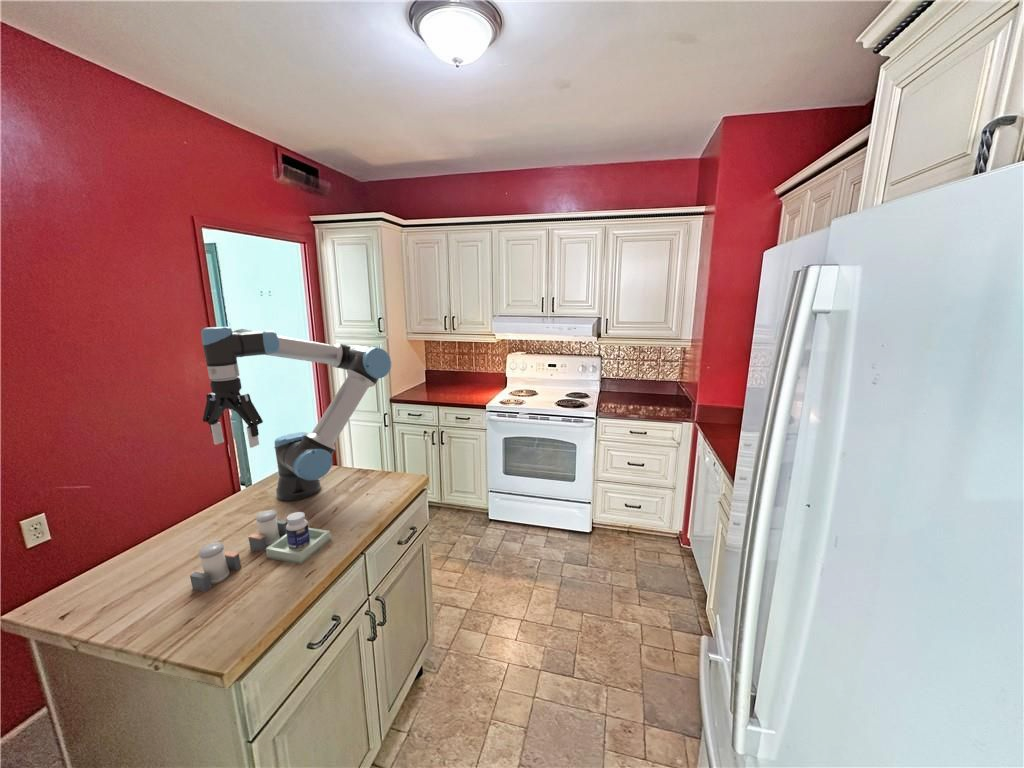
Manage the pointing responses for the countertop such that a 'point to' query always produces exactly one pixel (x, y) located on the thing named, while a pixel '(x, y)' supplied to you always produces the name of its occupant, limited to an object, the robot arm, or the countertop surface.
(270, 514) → the fuse
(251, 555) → the countertop surface
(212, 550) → the white rounded cylinder
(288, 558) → the tray
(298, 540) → the pill bottle
